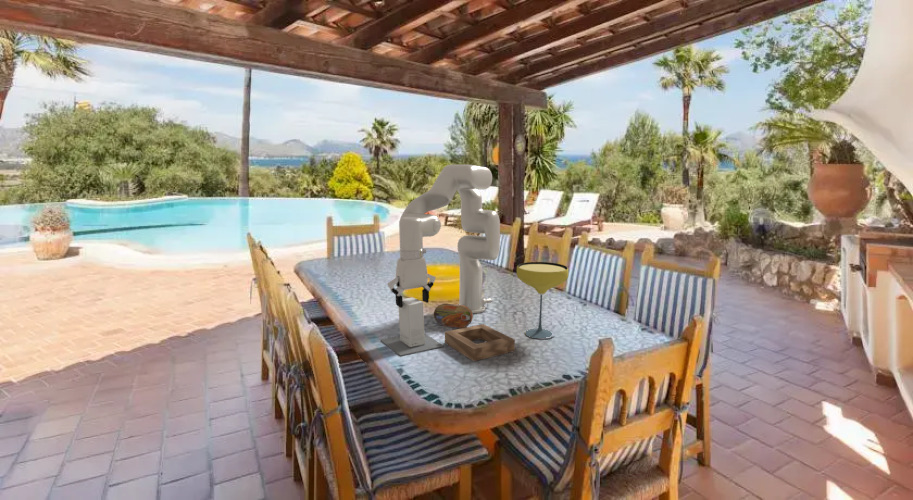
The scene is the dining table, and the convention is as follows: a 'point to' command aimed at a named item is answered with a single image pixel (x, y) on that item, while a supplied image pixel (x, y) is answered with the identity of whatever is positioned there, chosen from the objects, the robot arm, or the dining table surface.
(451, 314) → the tin
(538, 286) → the cocktail glass
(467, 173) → the robot arm
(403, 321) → the skincare box
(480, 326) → the frame
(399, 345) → the mat
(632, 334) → the dining table surface
